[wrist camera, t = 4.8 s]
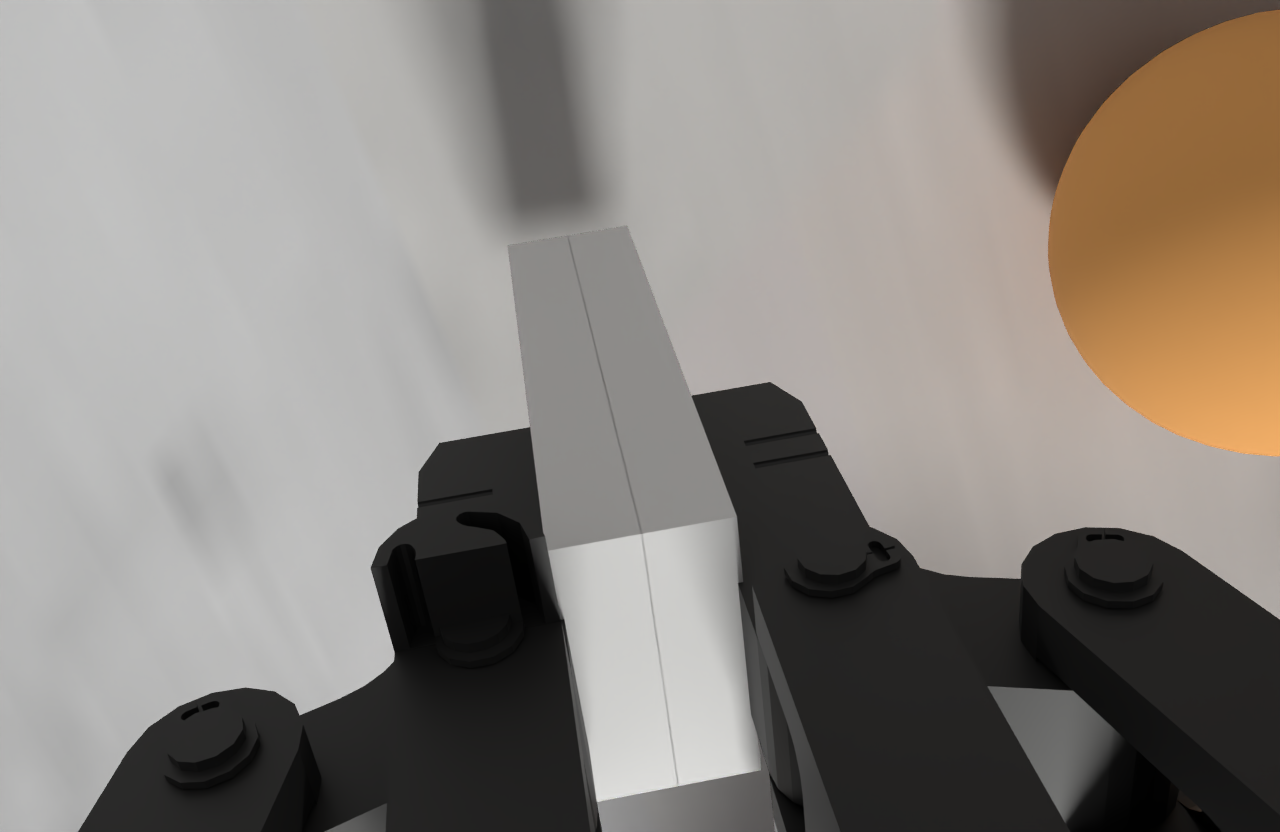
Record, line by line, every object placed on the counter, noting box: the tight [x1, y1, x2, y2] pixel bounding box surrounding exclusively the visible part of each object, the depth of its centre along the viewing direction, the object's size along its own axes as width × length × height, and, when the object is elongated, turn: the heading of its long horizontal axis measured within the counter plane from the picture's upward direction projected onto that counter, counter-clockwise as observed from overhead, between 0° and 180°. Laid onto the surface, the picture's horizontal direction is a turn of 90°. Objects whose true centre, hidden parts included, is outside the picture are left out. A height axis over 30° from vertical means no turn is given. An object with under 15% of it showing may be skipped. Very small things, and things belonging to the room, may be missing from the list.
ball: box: [1048, 10, 1280, 456], centre depth 15 cm, size 6×6×6 cm
